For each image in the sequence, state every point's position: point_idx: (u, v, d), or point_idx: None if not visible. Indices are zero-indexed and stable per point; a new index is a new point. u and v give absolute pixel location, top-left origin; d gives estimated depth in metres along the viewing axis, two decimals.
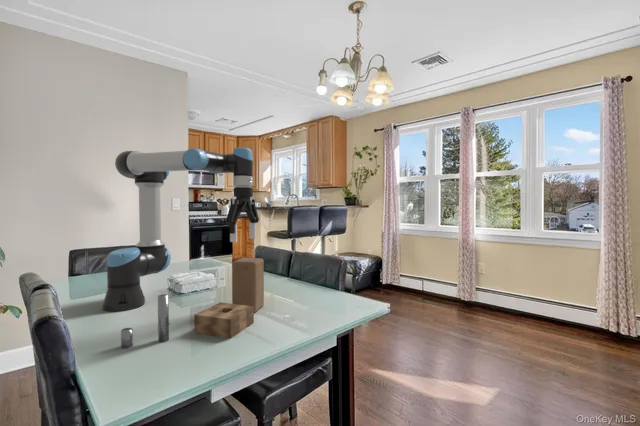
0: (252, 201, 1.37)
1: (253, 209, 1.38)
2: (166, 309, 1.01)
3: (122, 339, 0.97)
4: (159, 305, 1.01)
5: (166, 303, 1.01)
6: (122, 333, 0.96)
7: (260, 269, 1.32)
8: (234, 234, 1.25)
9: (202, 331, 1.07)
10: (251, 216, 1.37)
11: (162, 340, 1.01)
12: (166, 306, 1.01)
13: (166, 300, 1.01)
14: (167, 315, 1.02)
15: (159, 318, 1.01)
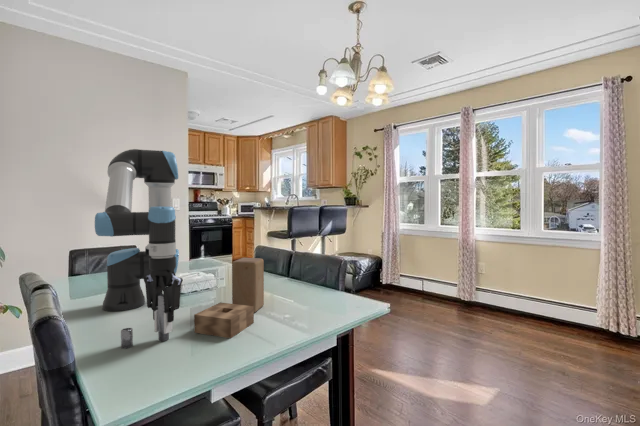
0: None
1: None
2: None
3: (122, 339, 0.97)
4: (159, 304, 1.01)
5: None
6: (122, 333, 0.96)
7: (260, 269, 1.32)
8: None
9: (202, 331, 1.07)
10: None
11: (162, 339, 1.01)
12: None
13: None
14: None
15: (159, 317, 1.01)
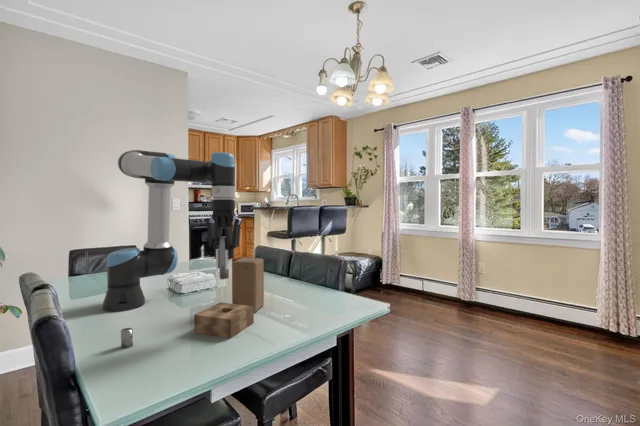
0: None
1: None
2: None
3: (122, 339, 0.97)
4: (221, 245, 1.10)
5: None
6: (122, 333, 0.96)
7: (260, 269, 1.32)
8: None
9: (202, 331, 1.07)
10: None
11: (223, 277, 1.10)
12: None
13: None
14: None
15: (220, 257, 1.10)
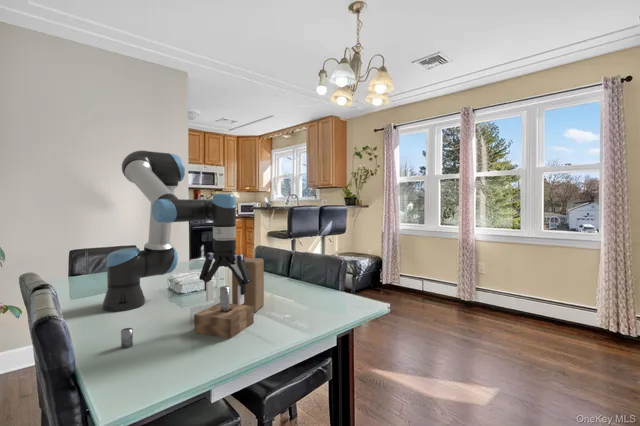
0: None
1: None
2: (228, 299, 1.12)
3: (122, 339, 0.97)
4: (222, 296, 1.11)
5: (228, 294, 1.12)
6: (122, 333, 0.96)
7: (260, 269, 1.32)
8: None
9: (202, 331, 1.07)
10: None
11: None
12: (228, 297, 1.12)
13: (228, 291, 1.12)
14: (228, 305, 1.12)
15: (222, 307, 1.11)
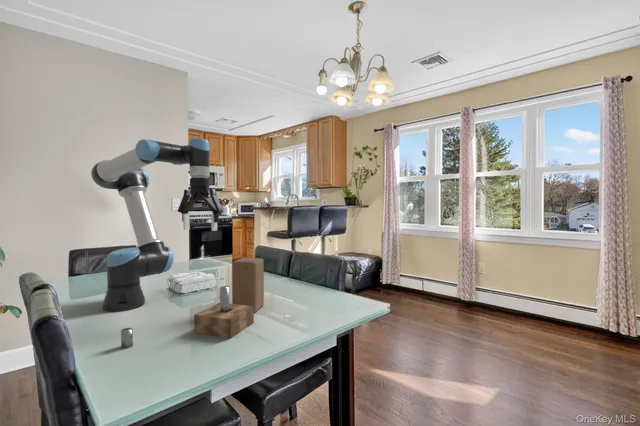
0: None
1: None
2: (227, 299, 1.12)
3: (122, 339, 0.97)
4: (222, 296, 1.11)
5: (228, 294, 1.12)
6: (122, 333, 0.96)
7: (260, 269, 1.32)
8: None
9: (202, 331, 1.07)
10: None
11: None
12: (227, 296, 1.12)
13: (228, 291, 1.12)
14: (228, 305, 1.12)
15: (221, 307, 1.11)
